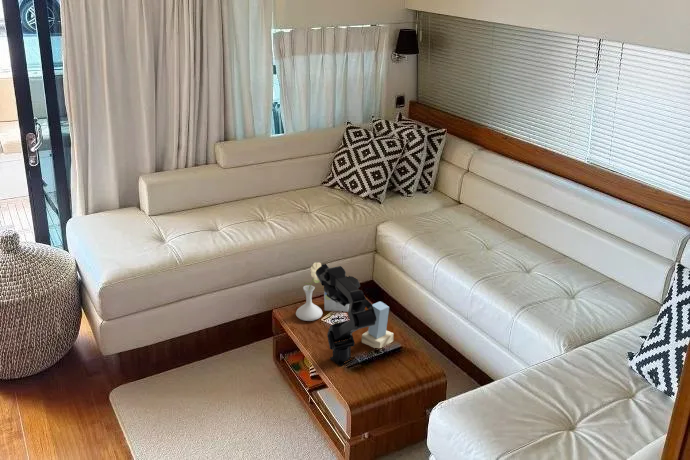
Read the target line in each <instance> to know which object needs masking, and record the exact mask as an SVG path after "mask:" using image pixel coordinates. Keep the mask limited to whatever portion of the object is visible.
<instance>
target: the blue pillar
mask: <svg viewBox="0 0 690 460" xmlns="http://www.w3.org/2000/svg"><path fill="white" fill-rule="evenodd" d="M371 304H372V303H371ZM372 306H373V309H374V312H375V315H376V322H375V325H374V326H369V327H368V330H367V331H368V333H369V334H370V335H372V336H373V337H375V338H376V339H378V338H380V337H382V336H384V335H386V330H388V328H387V327H388V319H389V312H390V306H388V305H387V304H386V303H384V302H383V301H377V302H375V303H373V304H372Z"/></svg>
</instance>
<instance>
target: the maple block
mask: <svg viewBox="0 0 690 460" xmlns="http://www.w3.org/2000/svg"><path fill="white" fill-rule="evenodd" d="M394 335H395V334H394V332H391V331H389V330H388V329H386V335H384V336H382V337H380V338H378V339H376V338H375V337H373V336H372V335H370V334H369V333H368V330H367V331H365V332H364V333H362V334H361V343H362V344H364V345H367V346H369V347H371V348H373V349H375V348H382V347H384V346H385V347H387V346H388V345H390V344H391V343H392V342H394V337H395V336H394ZM386 345H387V346H386ZM385 347H384V348H385Z"/></svg>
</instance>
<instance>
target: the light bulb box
mask: <svg viewBox="0 0 690 460" xmlns="http://www.w3.org/2000/svg"><path fill="white" fill-rule="evenodd" d="M323 303H324V304H323V305H324V306H323V308H324V309H323V310H324V311H325V312H326V311H328V312H342V311H343V313H345V312H346V313H348V309H349V304H346V306H343V305H341V304H340V303H338V302H335V301H334V300H332V299H330V298H329V297H327V293H326V292H325V291H324V290H323Z"/></svg>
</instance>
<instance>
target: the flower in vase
mask: <svg viewBox="0 0 690 460" xmlns="http://www.w3.org/2000/svg"><path fill="white" fill-rule="evenodd" d="M321 265H322V263H321V262H313V263H312V265H311V266H310V276H311V277H312V280H311V282H310V283H309V282H307V283H306V282H303V284H305V285H304V286H303V287H302V290H303V291H304V294H305V298H306V299H305V301H306V302H305V303H304V304H302V305H301V306H299V307H298V308H297V310H295V311H296V312H295V315H296V317H297V318H298V319H300V320H301V321H305V322H306V321H307V322H311V321H312V322H313V321H316V320H318V319H320V318H321V317H322V316H323V310H322V308H321V307H320V306H318V305H316V304H315V303H313V301H312V299H313V297H312V296H313V291H314V290H315V288H316V287H315V286H314V285H312V284H313V282H314V283H315V284H319V283H321V282H320V281H319V279H318V277H317V275H316V271H317V269H318V268H320V267H321Z"/></svg>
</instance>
